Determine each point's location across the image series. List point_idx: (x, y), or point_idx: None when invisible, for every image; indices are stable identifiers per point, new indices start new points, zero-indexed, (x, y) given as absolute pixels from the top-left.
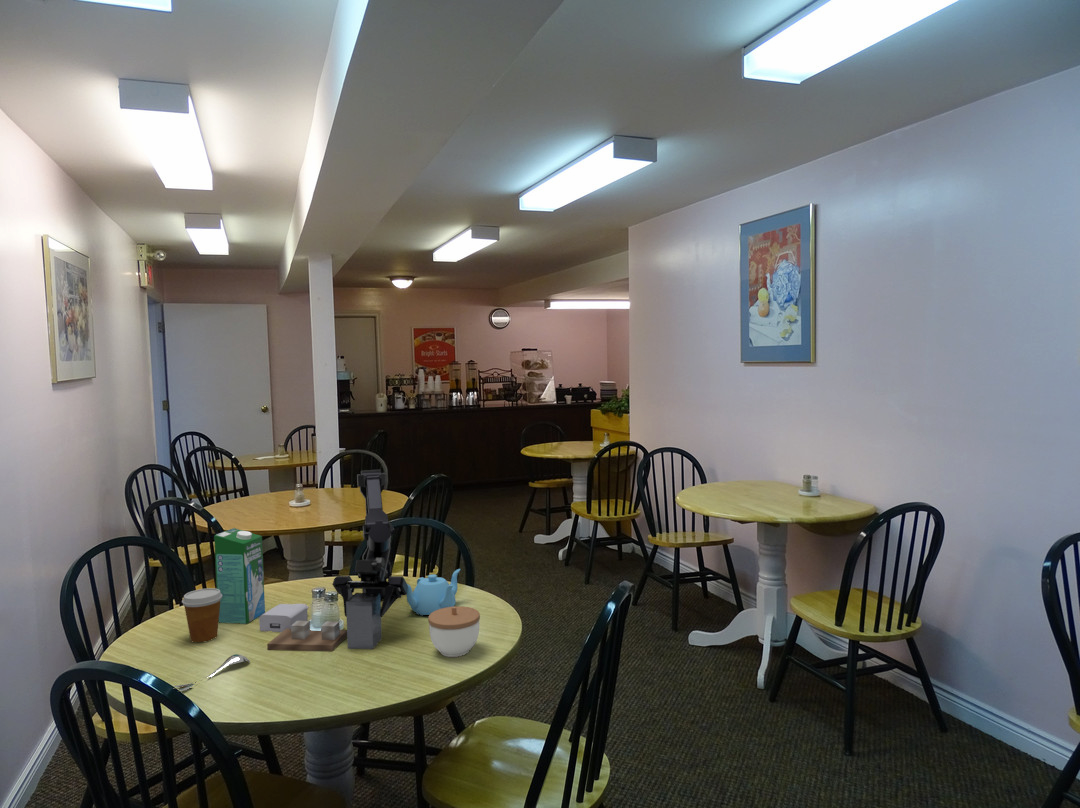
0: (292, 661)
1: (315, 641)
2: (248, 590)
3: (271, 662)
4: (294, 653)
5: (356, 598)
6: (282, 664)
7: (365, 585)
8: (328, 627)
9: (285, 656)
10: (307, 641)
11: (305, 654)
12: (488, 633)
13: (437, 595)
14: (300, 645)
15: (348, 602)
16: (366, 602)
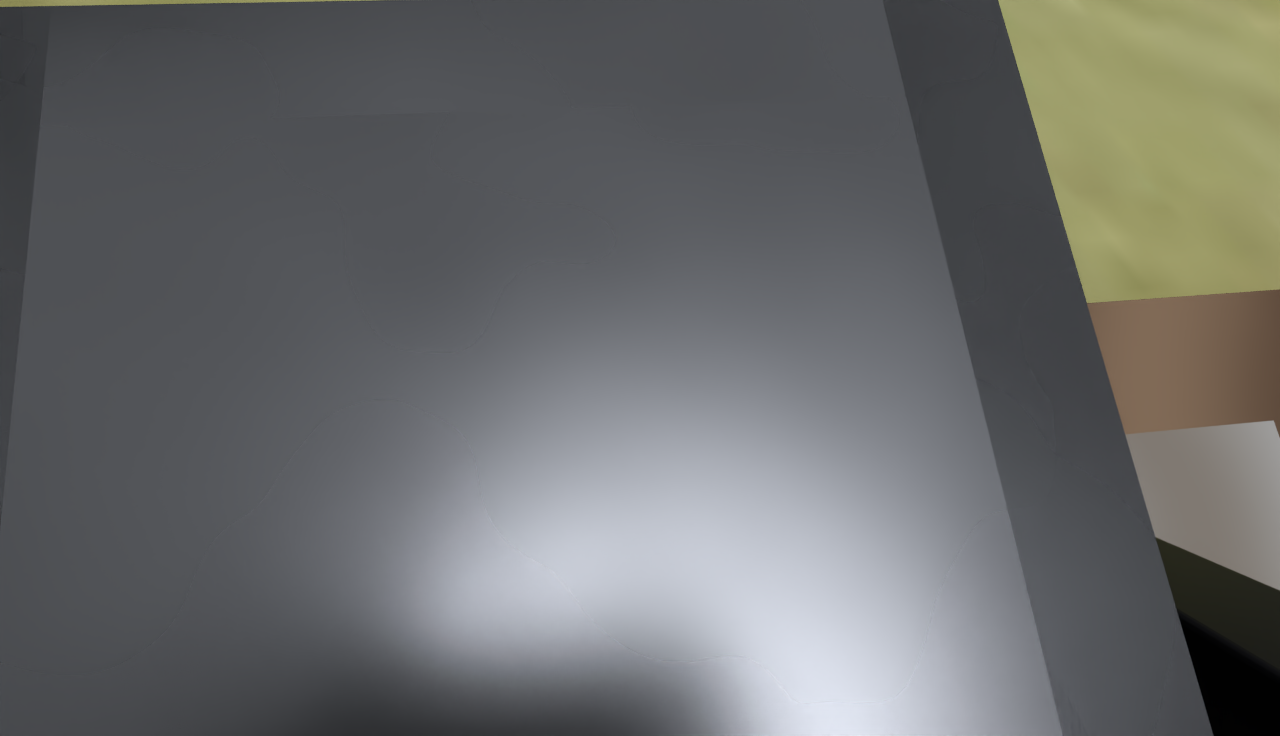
0: (1095, 71)
1: (1161, 402)
2: None
3: (1271, 37)
4: (1221, 243)
5: (791, 338)
6: (1139, 8)
7: None
8: (1138, 436)
9: (1252, 167)
10: (1259, 388)
11: (1088, 233)
12: None
13: None
14: (1261, 297)
15: (894, 15)
16: (154, 14)
